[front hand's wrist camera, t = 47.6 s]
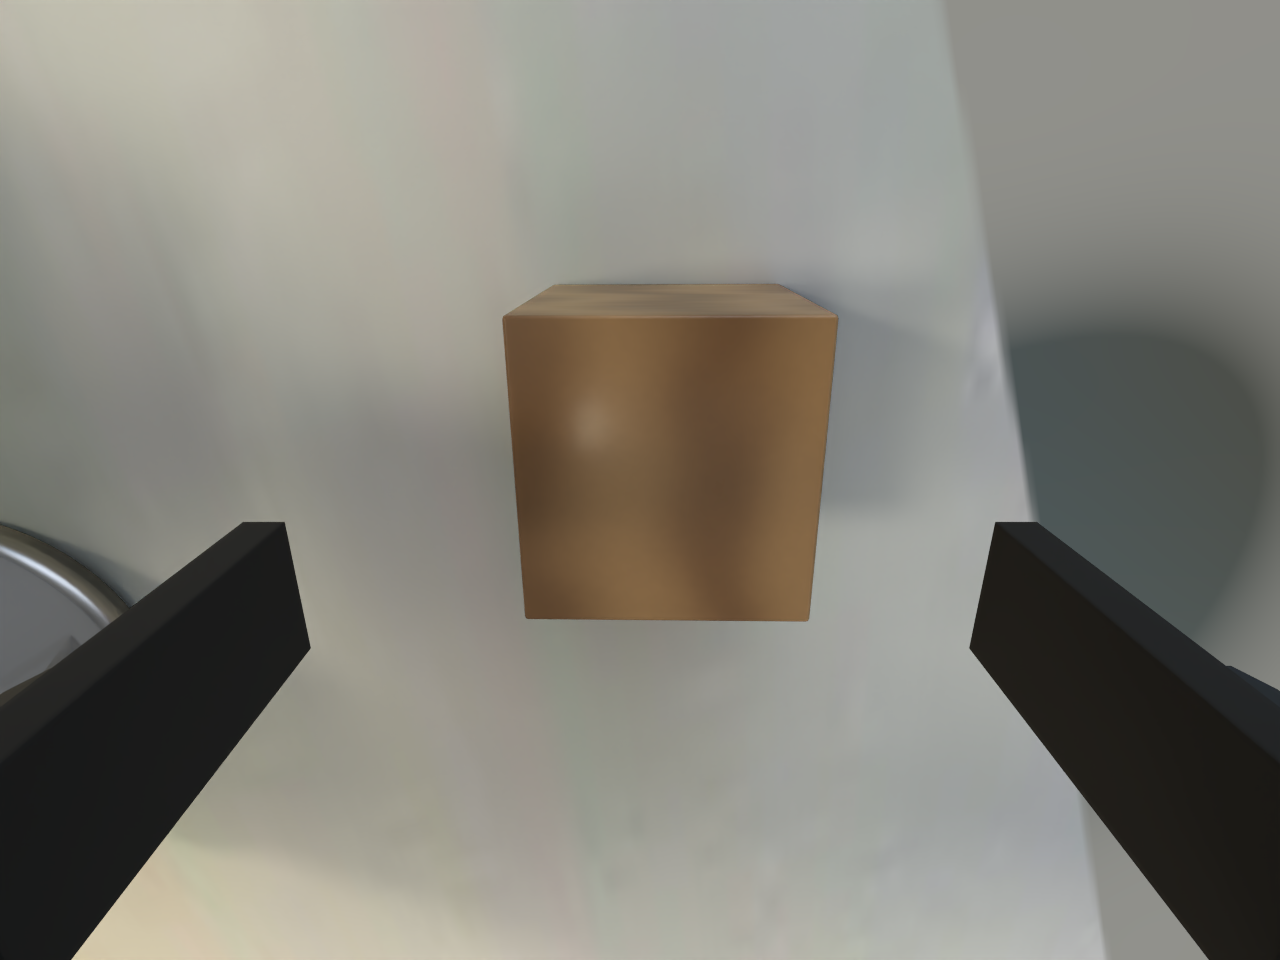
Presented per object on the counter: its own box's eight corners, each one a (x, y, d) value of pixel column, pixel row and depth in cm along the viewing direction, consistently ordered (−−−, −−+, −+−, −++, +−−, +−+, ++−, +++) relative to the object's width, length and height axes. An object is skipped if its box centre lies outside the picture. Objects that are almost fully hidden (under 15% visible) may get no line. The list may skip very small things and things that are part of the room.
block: (563, 504, 27) (524, 620, 19) (552, 284, 24) (500, 315, 16) (765, 505, 27) (809, 622, 19) (779, 283, 24) (839, 314, 16)
